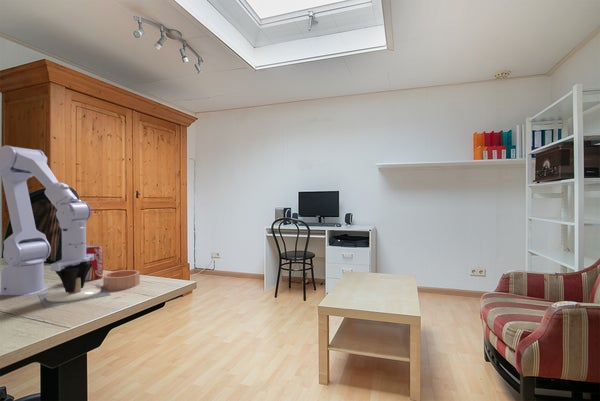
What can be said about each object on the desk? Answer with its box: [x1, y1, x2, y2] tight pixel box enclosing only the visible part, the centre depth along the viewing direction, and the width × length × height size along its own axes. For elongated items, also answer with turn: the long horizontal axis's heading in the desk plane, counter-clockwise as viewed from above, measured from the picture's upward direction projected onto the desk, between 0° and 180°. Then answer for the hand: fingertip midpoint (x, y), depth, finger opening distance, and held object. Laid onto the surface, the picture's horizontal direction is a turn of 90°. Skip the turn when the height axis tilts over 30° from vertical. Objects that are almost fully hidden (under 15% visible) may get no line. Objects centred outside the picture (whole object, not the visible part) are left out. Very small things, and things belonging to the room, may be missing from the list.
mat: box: [38, 283, 112, 309], centre depth 89 cm, size 15×15×1 cm
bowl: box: [102, 269, 141, 291], centre depth 99 cm, size 10×10×4 cm
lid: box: [46, 277, 102, 303], centre depth 89 cm, size 13×13×5 cm
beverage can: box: [85, 244, 104, 282], centre depth 107 cm, size 6×6×12 cm
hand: (74, 290), depth 89 cm, fingers closed on lid, 3 cm apart
